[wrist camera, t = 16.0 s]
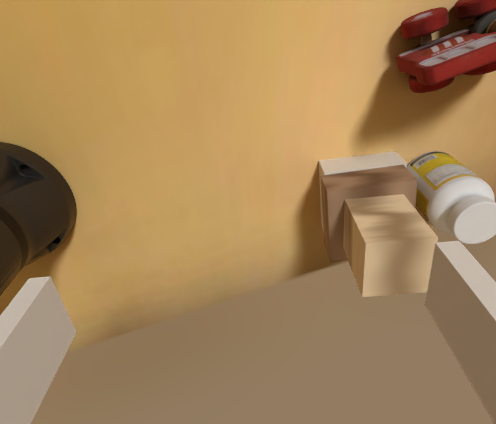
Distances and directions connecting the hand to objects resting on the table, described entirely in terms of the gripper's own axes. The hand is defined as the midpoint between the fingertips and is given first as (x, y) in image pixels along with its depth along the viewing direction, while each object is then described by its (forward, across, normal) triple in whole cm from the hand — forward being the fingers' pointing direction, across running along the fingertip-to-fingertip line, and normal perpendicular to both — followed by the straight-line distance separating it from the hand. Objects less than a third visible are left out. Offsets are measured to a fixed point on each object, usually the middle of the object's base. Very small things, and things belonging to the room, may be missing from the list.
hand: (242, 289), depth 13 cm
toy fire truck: (+32, +21, +3) cm, 38 cm away
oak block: (+24, +12, -13) cm, 30 cm away
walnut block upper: (+28, +12, -13) cm, 33 cm away
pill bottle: (+32, +21, -12) cm, 40 cm away
